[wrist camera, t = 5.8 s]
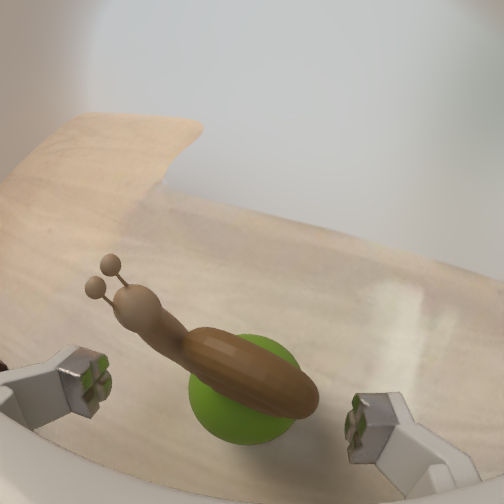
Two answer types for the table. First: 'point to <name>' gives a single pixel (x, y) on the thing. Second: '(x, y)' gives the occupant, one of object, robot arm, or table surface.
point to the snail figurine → (218, 366)
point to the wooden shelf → (2, 366)
